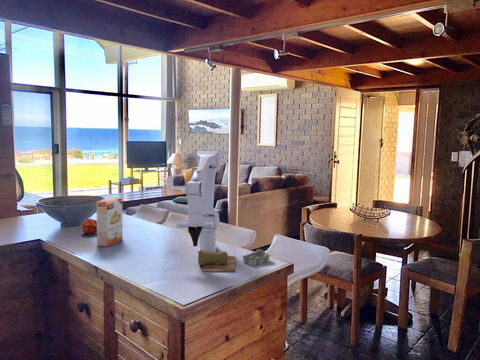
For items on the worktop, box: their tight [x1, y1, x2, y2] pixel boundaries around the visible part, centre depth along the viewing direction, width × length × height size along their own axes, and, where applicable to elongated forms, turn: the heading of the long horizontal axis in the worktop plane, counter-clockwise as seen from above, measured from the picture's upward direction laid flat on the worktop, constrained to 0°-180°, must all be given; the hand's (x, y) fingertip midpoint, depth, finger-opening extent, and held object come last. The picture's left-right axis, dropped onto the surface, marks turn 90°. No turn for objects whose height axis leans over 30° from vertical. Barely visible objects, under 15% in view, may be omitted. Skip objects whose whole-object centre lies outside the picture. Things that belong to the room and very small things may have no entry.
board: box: [201, 255, 236, 273], centre depth 153 cm, size 18×12×1 cm, turn 0°
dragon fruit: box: [81, 218, 97, 236], centre depth 201 cm, size 8×8×12 cm
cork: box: [197, 250, 229, 266], centre depth 151 cm, size 6×6×11 cm
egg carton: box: [241, 248, 272, 266], centre depth 157 cm, size 11×8×4 cm
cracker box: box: [95, 197, 123, 247], centre depth 183 cm, size 14×6×21 cm, turn 168°
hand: (195, 245), depth 152 cm, fingers closed
